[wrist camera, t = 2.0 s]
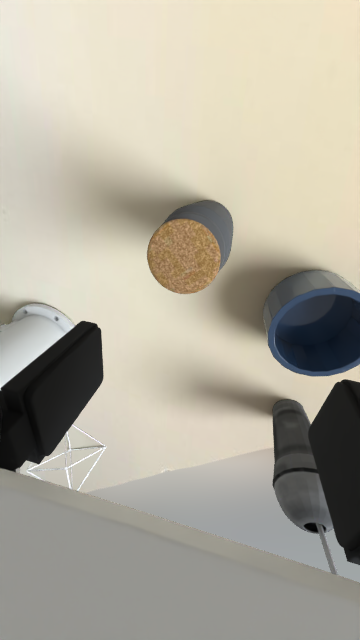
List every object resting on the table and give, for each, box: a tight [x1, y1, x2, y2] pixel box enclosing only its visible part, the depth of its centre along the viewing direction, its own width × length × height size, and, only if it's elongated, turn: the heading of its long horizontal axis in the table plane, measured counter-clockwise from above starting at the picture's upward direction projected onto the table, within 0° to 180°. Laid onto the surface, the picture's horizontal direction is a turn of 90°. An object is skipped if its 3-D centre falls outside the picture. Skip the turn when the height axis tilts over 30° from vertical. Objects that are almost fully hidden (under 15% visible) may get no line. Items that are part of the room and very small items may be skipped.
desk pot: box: [263, 270, 360, 376], centre depth 28 cm, size 11×11×6 cm
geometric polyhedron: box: [27, 424, 106, 491], centre depth 50 cm, size 12×11×9 cm
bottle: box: [147, 200, 233, 294], centre depth 22 cm, size 6×6×15 cm
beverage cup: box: [273, 400, 338, 575], centre depth 29 cm, size 7×7×20 cm
